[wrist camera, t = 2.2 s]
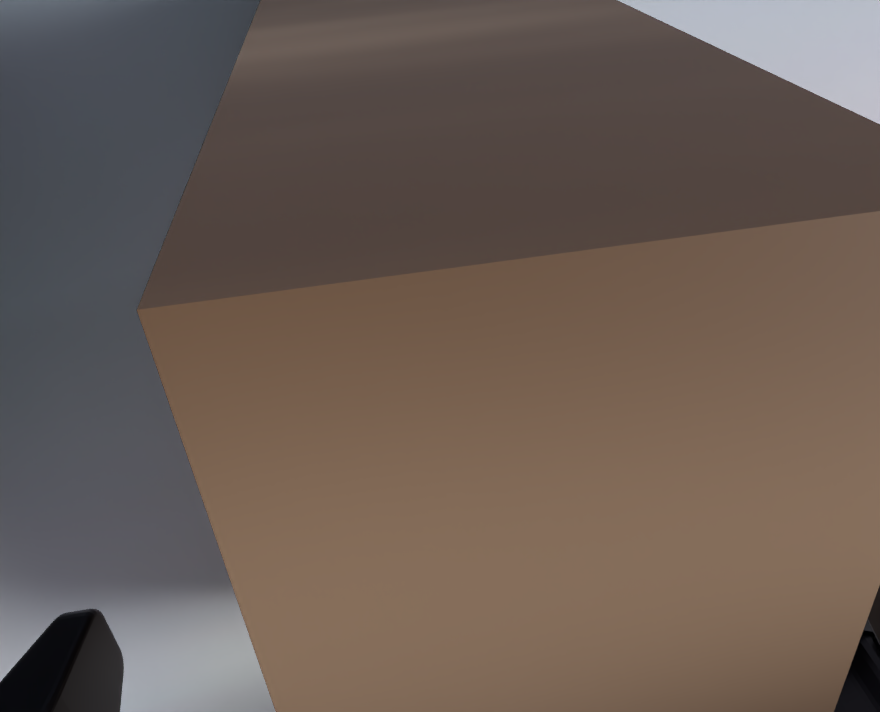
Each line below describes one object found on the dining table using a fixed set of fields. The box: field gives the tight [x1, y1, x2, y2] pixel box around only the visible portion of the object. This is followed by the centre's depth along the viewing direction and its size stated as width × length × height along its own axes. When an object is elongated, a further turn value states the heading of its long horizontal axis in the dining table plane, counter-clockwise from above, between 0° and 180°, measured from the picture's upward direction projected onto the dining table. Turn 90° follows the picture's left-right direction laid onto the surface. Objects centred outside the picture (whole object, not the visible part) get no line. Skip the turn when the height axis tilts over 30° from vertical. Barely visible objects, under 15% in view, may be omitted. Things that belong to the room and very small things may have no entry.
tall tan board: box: [137, 0, 880, 712], centre depth 10 cm, size 12×3×9 cm, turn 4°
